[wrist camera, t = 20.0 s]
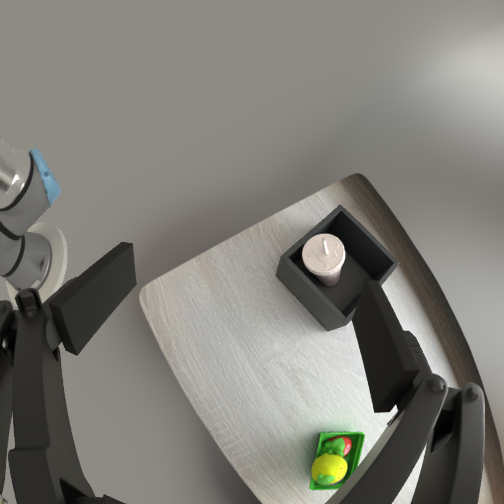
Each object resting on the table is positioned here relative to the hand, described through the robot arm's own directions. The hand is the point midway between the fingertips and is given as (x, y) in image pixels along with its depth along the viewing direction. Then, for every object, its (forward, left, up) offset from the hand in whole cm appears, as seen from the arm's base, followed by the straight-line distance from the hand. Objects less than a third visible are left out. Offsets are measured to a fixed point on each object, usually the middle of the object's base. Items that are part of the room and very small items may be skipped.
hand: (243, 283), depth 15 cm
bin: (+2, +16, -33) cm, 37 cm away
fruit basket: (+26, -6, -33) cm, 42 cm away
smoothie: (+2, +16, -31) cm, 35 cm away
